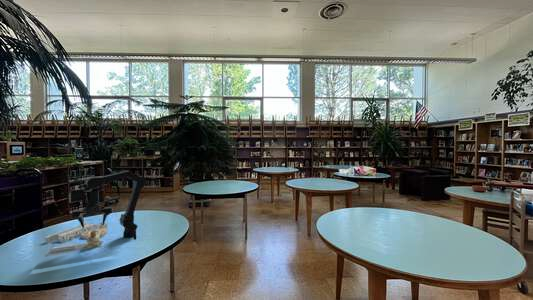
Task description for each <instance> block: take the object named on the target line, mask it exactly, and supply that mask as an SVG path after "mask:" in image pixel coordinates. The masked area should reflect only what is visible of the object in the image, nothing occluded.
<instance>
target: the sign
mask: <svg viewBox="0 0 533 300" xmlns="http://www.w3.org/2000/svg"><path fill="white" fill-rule="evenodd" d="M102 223H103V222H99V223H97V224H96V223H93V224H91V222H89V221H88V222H87V221H86V222H84V228H82V226H81V224H78V225H76V226H73V227H70V228H67V229H64V230H61V231H58V232H55V233H52V234H49V235H47V236H45V237H44V243H45V244H50V243H52V242H55V241H58V242H59V243H66V242H67V243H68V242H69V241H72V240H74V239H76V238H79V237H81V238H82V239H85V240H87V238H88V237H89V236H90V235H91V231H92V230H96V235H97V234H100V239H101V238H104V237H105V236H107V234H108V222H105V223H104V225H103V224H102Z"/></svg>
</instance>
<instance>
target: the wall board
mask: <svg viewBox="0 0 533 300" xmlns="http://www.w3.org/2000/svg"><path fill="white" fill-rule="evenodd" d="M103 243H104V240H100V243H99V246H98V247H91V248H87V243H81V244H68V245H60V246H55V247H52V248H51V249H49V251H48V252H47V253H45V255H44V257H50V256H55V255H62V254H68V253H75V252H79V251H80V252H81V251H86V250H92V249H98V248H101V247H102V245H103Z"/></svg>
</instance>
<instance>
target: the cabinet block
mask: <svg viewBox="0 0 533 300" xmlns="http://www.w3.org/2000/svg"><path fill="white" fill-rule="evenodd" d="M100 241H101V238H100V234H97V235H96V230H92V231H91V235H90V236H89V237H88V238H87V239H86V244H87V248H91V247H98V246H99V243H100Z"/></svg>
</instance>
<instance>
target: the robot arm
mask: <svg viewBox="0 0 533 300" xmlns="http://www.w3.org/2000/svg"><path fill="white" fill-rule="evenodd" d="M126 178H128V179H129V180H130V181H132V192H131V194H130V197H129V201H128V205H127V207H126V210H125V212H124V213H121V215H120V218H119V219H118V220H119V224H120V225H121V226H122V227H123V228H124V231H123V233H122V234H123V236H122V237H123V239H126V238H128V239H129V238H133V240H136V239H137V229H138V225H137V224H135V223H134V222H135V215H134V214H135V210H136V207H137V204H138V201H139V197H140V194H141V192H142V190H143V189H144V188H145V185H146V184H147V178H146V177H145V176H142V175H138V174H136V173H134V172H132V171H131V170H124V171H120V172H116V173H113V174H112V173H111V174H107V175H102V176H90V177H88V178H86V179H85V181H84V184H83V185H82V187H81V188H78V189H70V190H69V194H68V200H69V201H68V202H69V203H76V202H84V200H86V205H85V208H84V209H85V210H83V209H74V210H73V212H71V215H70V218H73V219H76V220H78V221H79V225H81V226H82V228H84V223H85V220H84V216H85V217H89V216H96V215H97V214H99V213H101V214H102V213H103V214H102V216H103V217H102V222H101V223H102V224H103V225H104V223H106V220H107V217H108V216H109V215H111V214H113V212H114V207H113V206H104V208H102V207H101V205H100V192H102V191H103V190H104V189H102V188H101V186H103V185H105V184H107V183H110V182H115V181H119V180H121V179H122V180H123V179H126Z"/></svg>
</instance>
